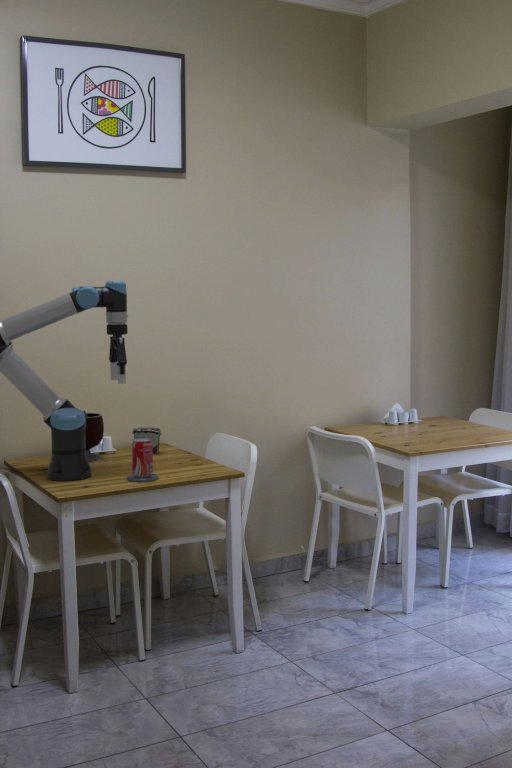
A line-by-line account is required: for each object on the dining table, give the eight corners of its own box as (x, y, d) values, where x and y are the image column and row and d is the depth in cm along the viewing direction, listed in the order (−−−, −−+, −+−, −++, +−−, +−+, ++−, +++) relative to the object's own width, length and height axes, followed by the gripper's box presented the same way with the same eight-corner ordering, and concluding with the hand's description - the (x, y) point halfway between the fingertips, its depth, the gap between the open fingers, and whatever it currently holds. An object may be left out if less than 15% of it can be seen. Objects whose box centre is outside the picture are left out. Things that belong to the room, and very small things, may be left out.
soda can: (154, 474, 299) (154, 437, 297) (150, 478, 292) (149, 441, 290) (135, 474, 300) (134, 437, 298) (130, 478, 292) (129, 441, 291)
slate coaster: (130, 483, 289) (130, 481, 289) (123, 476, 299) (123, 474, 299) (162, 480, 293) (161, 478, 293) (154, 474, 303) (154, 472, 303)
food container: (166, 452, 345) (166, 427, 344) (160, 455, 339) (160, 430, 338) (139, 450, 349) (138, 426, 348) (132, 453, 343) (132, 428, 342)
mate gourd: (69, 455, 338) (67, 405, 336) (104, 454, 341) (103, 405, 339) (66, 463, 323) (65, 411, 321) (104, 462, 325) (102, 410, 323)
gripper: (134, 324, 301) (135, 384, 303) (120, 322, 324) (121, 378, 326) (113, 325, 298) (114, 385, 300) (100, 322, 321) (101, 378, 323)
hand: (118, 381), depth 313 cm, fingers open, 13 cm apart
